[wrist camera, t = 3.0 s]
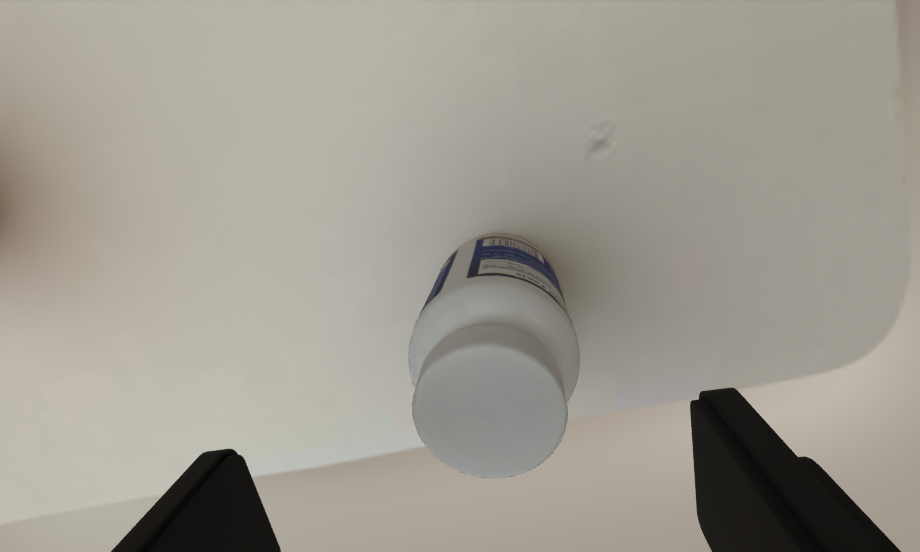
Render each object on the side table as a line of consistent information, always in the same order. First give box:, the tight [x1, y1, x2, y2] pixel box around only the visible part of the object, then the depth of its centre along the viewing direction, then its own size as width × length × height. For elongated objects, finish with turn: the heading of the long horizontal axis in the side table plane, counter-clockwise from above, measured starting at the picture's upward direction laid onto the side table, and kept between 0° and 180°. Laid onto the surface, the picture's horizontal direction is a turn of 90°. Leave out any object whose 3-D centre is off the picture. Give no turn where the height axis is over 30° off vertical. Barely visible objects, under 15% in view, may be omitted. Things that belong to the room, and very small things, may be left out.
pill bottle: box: [409, 234, 580, 478], centre depth 16 cm, size 5×5×10 cm
